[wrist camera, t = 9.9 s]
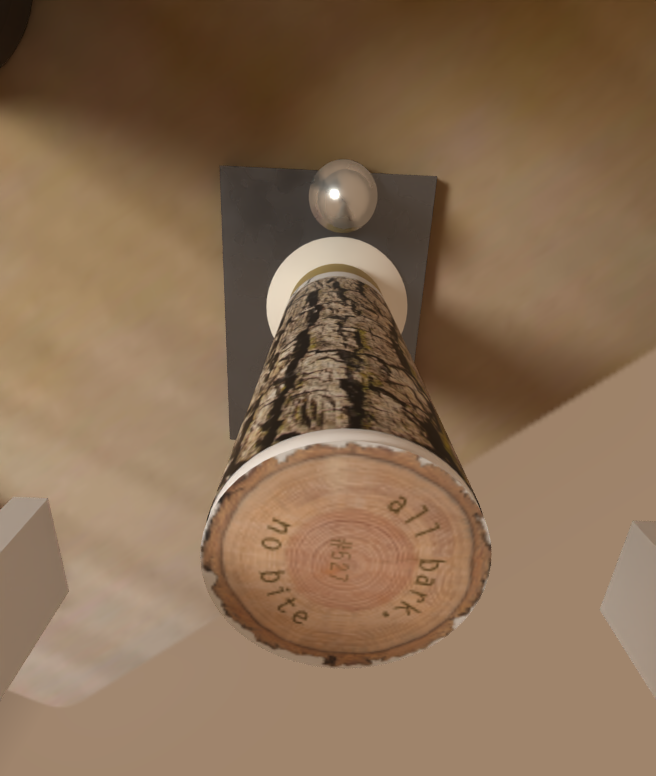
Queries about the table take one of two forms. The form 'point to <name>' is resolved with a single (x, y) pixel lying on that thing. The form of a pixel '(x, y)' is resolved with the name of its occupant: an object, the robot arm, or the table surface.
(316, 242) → the white dome cap
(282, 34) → the table surface
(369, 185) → the collar post
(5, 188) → the table surface
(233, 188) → the plate
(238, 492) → the paper tube
